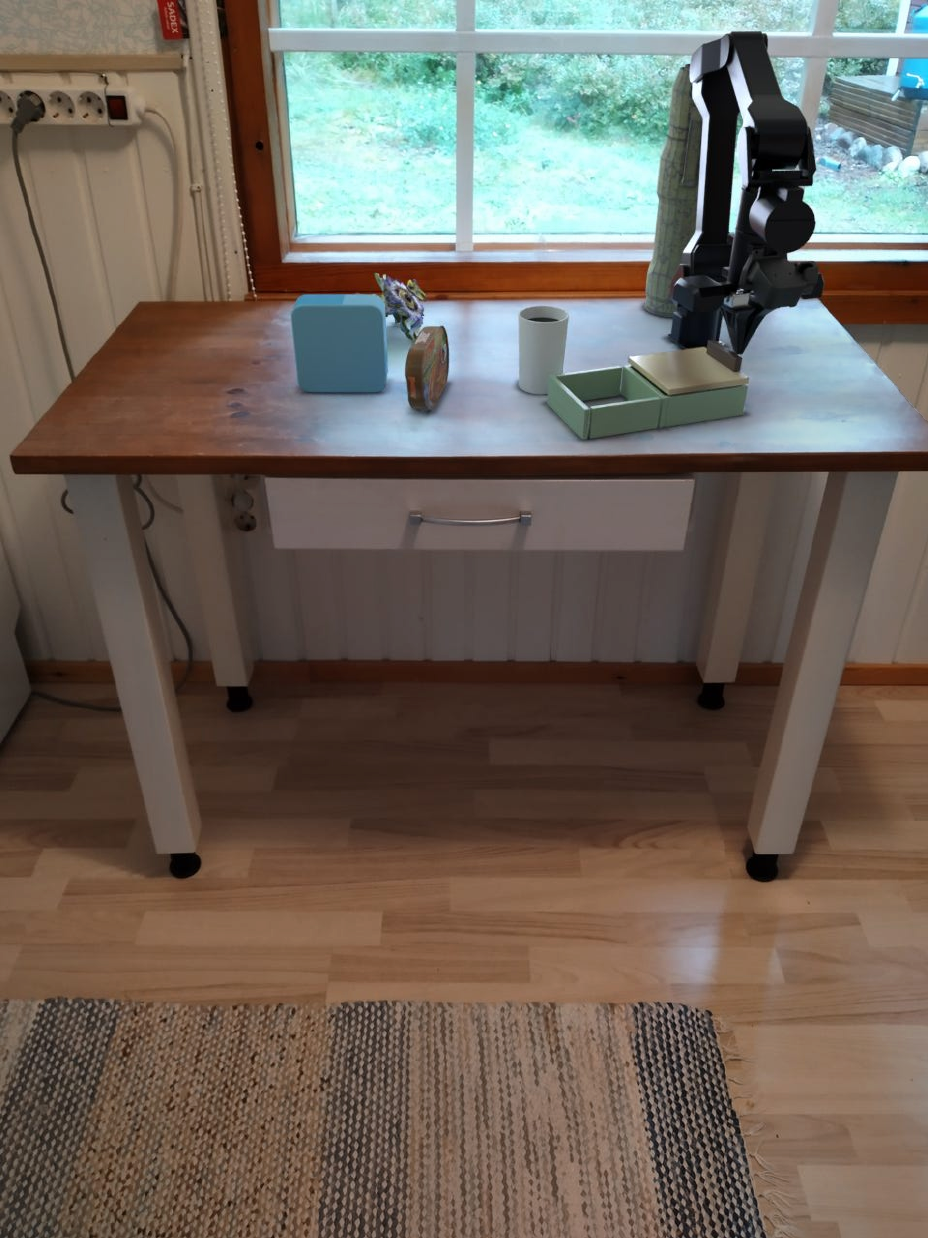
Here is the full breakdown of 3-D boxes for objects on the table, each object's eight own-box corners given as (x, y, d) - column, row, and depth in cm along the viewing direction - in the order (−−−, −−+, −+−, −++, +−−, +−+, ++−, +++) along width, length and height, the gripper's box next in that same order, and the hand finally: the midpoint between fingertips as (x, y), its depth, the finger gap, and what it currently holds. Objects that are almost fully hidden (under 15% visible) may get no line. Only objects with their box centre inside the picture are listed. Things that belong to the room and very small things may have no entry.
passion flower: (416, 373, 154) (427, 327, 142) (346, 362, 152) (352, 314, 141) (422, 312, 157) (433, 263, 146) (353, 301, 156) (360, 250, 144)
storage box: (698, 382, 137) (702, 354, 135) (742, 415, 128) (748, 385, 126) (546, 403, 131) (548, 375, 129) (582, 439, 122) (584, 409, 120)
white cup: (571, 381, 137) (576, 310, 131) (553, 399, 132) (558, 325, 127) (527, 373, 140) (529, 302, 134) (508, 390, 135) (510, 317, 129)
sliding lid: (703, 352, 135) (706, 333, 133) (748, 383, 126) (752, 363, 124) (627, 362, 132) (629, 343, 130) (668, 395, 123) (671, 375, 121)
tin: (426, 420, 127) (425, 357, 122) (403, 418, 127) (400, 355, 123) (451, 376, 139) (451, 316, 134) (429, 374, 139) (428, 315, 134)
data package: (388, 379, 138) (384, 293, 131) (386, 393, 134) (382, 305, 127) (302, 379, 138) (294, 293, 131) (298, 392, 134) (289, 305, 127)
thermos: (648, 320, 157) (676, 70, 136) (640, 296, 167) (665, 59, 146) (704, 321, 157) (740, 71, 136) (693, 297, 166) (725, 59, 146)
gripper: (727, 254, 112) (707, 385, 121) (865, 239, 117) (835, 366, 126) (678, 229, 120) (663, 353, 129) (809, 216, 125) (785, 336, 134)
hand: (738, 353), depth 130 cm, fingers closed
